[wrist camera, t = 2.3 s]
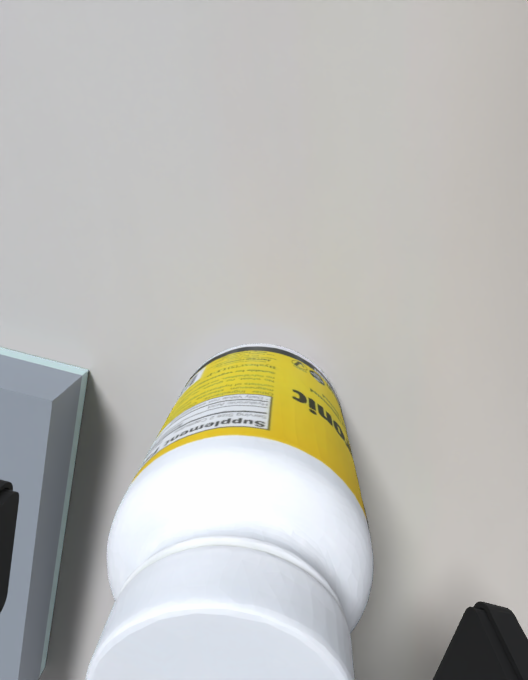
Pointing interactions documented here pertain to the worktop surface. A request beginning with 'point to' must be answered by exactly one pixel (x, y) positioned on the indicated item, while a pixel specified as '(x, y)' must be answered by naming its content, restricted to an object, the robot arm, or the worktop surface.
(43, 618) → the holder block
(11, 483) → the robot arm
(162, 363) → the worktop surface
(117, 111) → the worktop surface
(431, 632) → the worktop surface
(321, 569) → the supplement bottle
